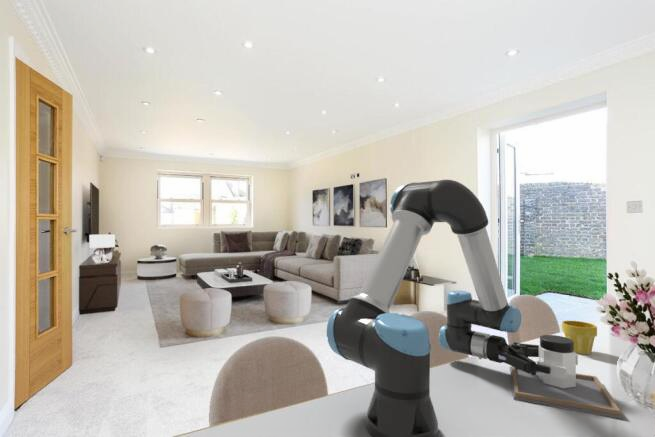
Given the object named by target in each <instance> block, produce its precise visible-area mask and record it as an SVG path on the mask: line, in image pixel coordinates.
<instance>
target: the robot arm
mask: <svg viewBox="0 0 655 437" xmlns="http://www.w3.org/2000/svg"><path fill="white" fill-rule="evenodd" d="M389 203H390V204H391V206H390V207H389V208H390V213H391V220H392V222H393V224H392V226H391V227H390V230H389V231H388V234H387V236H386V237H385V241H384V242H383V244H382V247H381V248H380V250H379V252H378V255H377V257H376V258H375V261H374V262H373V264H372V266H371V269H370V270H369V272H368V274H367V276H366V278H365V281H364V283H363V284H362V287H361V289H360V291H359V293H358V294H357V295H354V296H351V297H350V298H349V300H348V302H347V304H346V306H345V307H339V308H338V309H336V310H334V311H333V312H332V313H331V314H330V316H329V318H328V322H327V324H326V337H327V342H328V346H329V347H330V349H331V350H332V352H334V353H335V354H337V355H339V356H341V357H342V358H343V359H344V360H347V361H351V362H353V363H356V364H358V365H360V366H362V367H366V368H368V369H370V370H372V371H374V390H373V394H372V397H371V400H370V402H369V406H368V408H367V411H366V421H365V422H366V429H367V431H368V433H369V435H370V436H371V437H438V436H439V423H438V417H437V415H436V411H435V407H434V404H433V402H432V398H431V395H430V394H431V393H430V390H431V389H430V383H431V381H430V380H431V378H430V377H431V375H430V374H431V373H430V372H431V370H430V369H431V364H430V363H431V350H432V347H431V341H430V340H431V339H430V331H429V329H428V326H427V325H426V324H425V323H424V322H423V321H422V320H419V319H418V318H415V317H413V316H411V315H408V314H403V313H402V314H400V313H396V312H390V309H391V306H392V304H393V302H394V301H395V298H396V295H397V293H398V291H399V289H400V286H401V284H402V282H403V280H404V277H405V276H406V272H407V270H408V268H409V266H410V264H411V261H412V260H413V257H414V254H415V252H416V250H417V248H418V246H419V243H420V242H421V239H422V237H423V236H426V235H429V233H430V232H431V231H432V229H433V226H434V224H435V223H447V224H448V225H449V226H450V229H451V232H452V233H453V234H454V235H457V236H456V237H457V238H458V242H459V244H460V247H461V250H462V253H463V256H464V259H465V263H466V266H467V268H468V272H469V275H470V278H471V280H472V285H473V287H474V290H475V293H476V296H477V299H478V300H477V299H473V296H472V293H471V292H469V291H466V290H450V291H449V292H447V294H446V295H447V296H446V325H443V326H442V325H441V327H440V329H439V332H438V342H439V345H440V347H442V348H443V349H446V350H449V351H452V352H454V353H460V354H464V355H468V356H472V357H476V358H478V360H482V359H483V360H488V361H491V362H495V363H499V364H502V363H504V364H507V365H509V366H510V367H511V366H513V367H515V368H517V369H520V370H522V371H524V372H526V373H531V374H532V375H536V371H537V372H538V373H542V374H546V375H550V376H554V377H558V378H562V379H567V368H565V367H561V366H557V365H552V364H548V363H544V362H540V361H539V360H537V361H534V360H533V359H531V358H539V345H540V344H530V343H520V342H517V341H514V342H513V343H511V344H508V343H507V341H506V338H505V337H503V336H500V335H493V334H490V333H486V332H480V331H476V330H472V327H473V326H472V325H474V326H478V327H483V328H488V329H490V330H496V331H499V332H505V333H510V334H511V333H512V334H513V333H517V332H518V331H519V329H520V327H521V324H522V313H521V310H520V309H519V307H517V306H513V305H509V303H508V300H507V295H506V293H505V289H504V285H503V282H502V279H501V275H500V271H499V267H498V265H497V262H496V259H495V255H494V250H493V247H492V245H491V241H490V236H489V234H488V231H487V227H488V226H489V218H488V216H487V212H486V210H485V208H484V205H483V204H482V203H481V201H480V199H479V198H478V197H477V196H476V195H475V193H474V192H473V191H472V190H471V189H470V188H469V187H467V186H466V185H464V184H463V183H461V182H459V181H457V180H452V179H441V180H432V181H422V182H421V181H420V182H410V183H409V182H408V183H406V184H403V185H400V186H399V187H397V188H396V190H394V192H393V194H392V196H391V199H390V202H389ZM578 359H579V354H578V353H576V366H578V365H579V360H578Z"/></svg>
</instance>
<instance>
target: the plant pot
mask: <svg viewBox="0 0 655 437" xmlns="http://www.w3.org/2000/svg"><path fill="white" fill-rule="evenodd" d="M561 330H562V332H563V333H564V337H566V338H569V339H571V340H573V341H574V352H575V353H576V354H577V355H579V354H580V355H590V354H592V350H593V346H594V341H595V337H597V336H598V327H597V325H596V324H593V323H592V322H588V321H579V320H563V321H561Z"/></svg>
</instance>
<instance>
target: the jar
mask: <svg viewBox="0 0 655 437" xmlns="http://www.w3.org/2000/svg"><path fill="white" fill-rule="evenodd" d="M538 345H539V357H538V361H540V362H544V363H548V364H552V365H557V366H561V367H565V368H567V379H562V378H558V377H554V376H550V375H546V374H542V373H539V378H540V379H541V380H542V381H543V383H544V384H548V385H551V386H555V387H558V388H562V389H563V388H571V387H576V374H577V368H576V367H577V365H576V354H577V353H575V352H574V341H573V340H571V339H569V338H566V337H565V336H562V335H561V336H560V335H555V334H542V335H540V336H539V344H538Z"/></svg>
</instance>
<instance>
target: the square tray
mask: <svg viewBox="0 0 655 437" xmlns="http://www.w3.org/2000/svg"><path fill="white" fill-rule="evenodd" d="M509 372H510V379H511V380H510V381H511V389H512V396H513V397H512V398H513V400H516V401H520V402H521V401H522V402H528V403H532V404H538V405H542V406H543V405H544V406H550V407H554V408H560V409H563V410H564V409H566V410H571V411H576V412H581V413H587V414H593V415H598V416H603V417H609V418H614V419H620V420H624V415H623V414H622V411H621V409H620V408H619V406H617V404H616V403H615V401H614V400H613V398H612V397H611V395H610V394H609V392H608V391H607V389H606V388H605V387H604V385H603V384H602V382H601V381H600V379H599V378H598V377H597V376H596V375H589V374H583V373H576V387H571V388H563V389H562V388H558V387H555V386H551V385H548V384H544V383H543V381H542V380H541V379H540V378H539V373H538V372H537V371H536V375H532V374H531V373H526V372H524V371H522V370H520V369H517V368H515V367H513V366H511V365H510V366H509Z"/></svg>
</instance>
